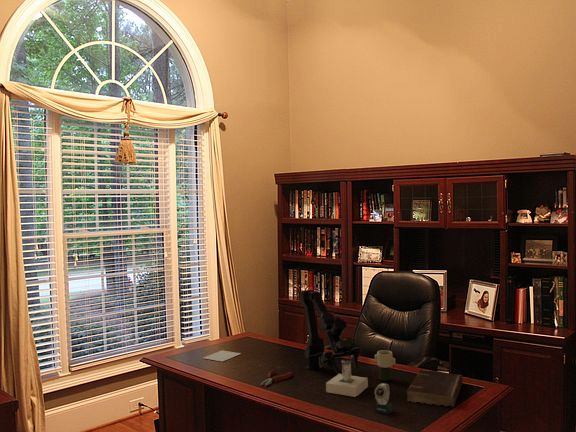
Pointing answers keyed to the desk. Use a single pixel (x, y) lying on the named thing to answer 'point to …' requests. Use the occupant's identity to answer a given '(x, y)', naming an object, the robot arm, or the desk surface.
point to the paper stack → (221, 355)
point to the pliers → (269, 380)
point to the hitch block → (347, 385)
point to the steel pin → (346, 370)
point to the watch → (382, 399)
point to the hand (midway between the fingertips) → (347, 372)
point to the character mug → (385, 364)
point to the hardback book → (435, 388)
